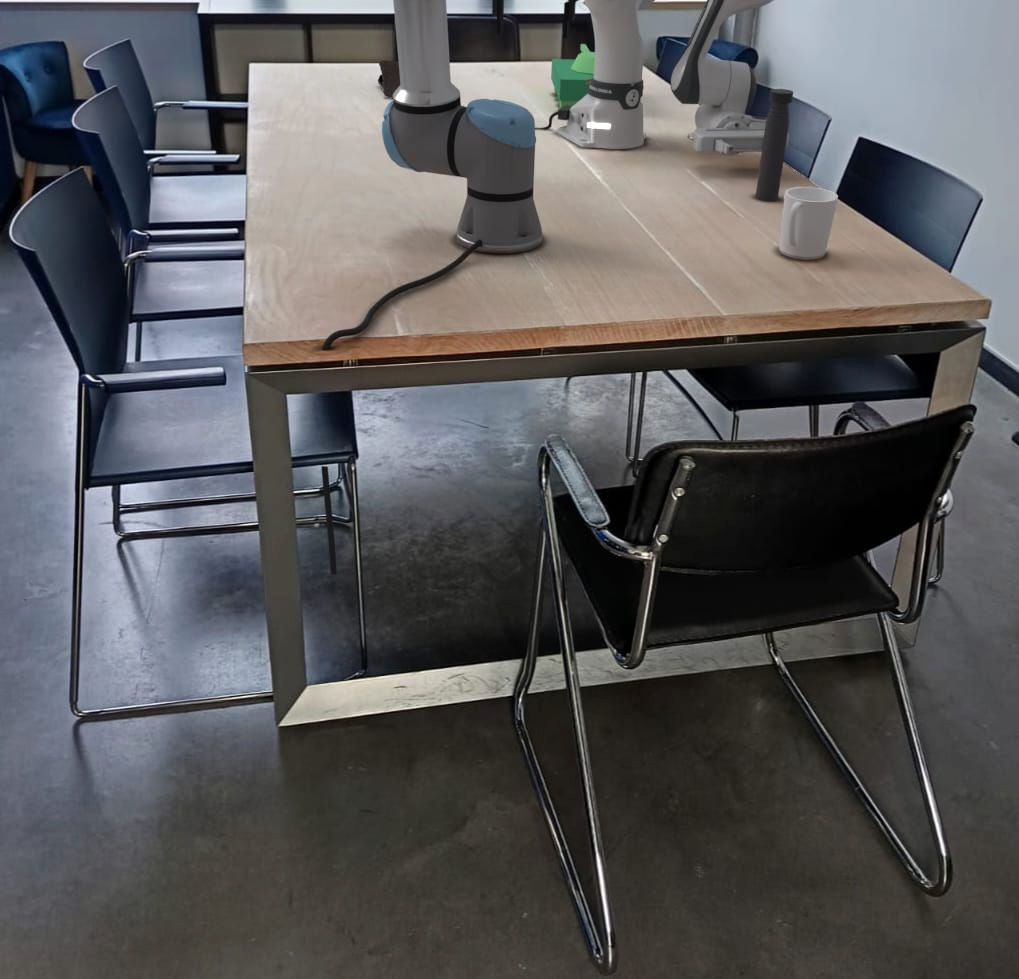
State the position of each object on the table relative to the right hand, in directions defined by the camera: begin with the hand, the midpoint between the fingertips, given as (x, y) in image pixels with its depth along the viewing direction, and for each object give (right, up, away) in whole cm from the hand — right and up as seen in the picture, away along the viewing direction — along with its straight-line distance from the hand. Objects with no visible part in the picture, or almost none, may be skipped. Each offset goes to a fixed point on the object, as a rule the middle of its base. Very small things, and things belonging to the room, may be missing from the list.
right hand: (751, 149), depth 228 cm
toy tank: (-30, +34, +67) cm, 81 cm away
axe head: (-80, +38, +72) cm, 114 cm away
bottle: (+2, -12, -7) cm, 14 cm away
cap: (+2, +6, -17) cm, 18 cm away
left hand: (-46, +21, -7) cm, 51 cm away
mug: (0, -30, -36) cm, 46 cm away
